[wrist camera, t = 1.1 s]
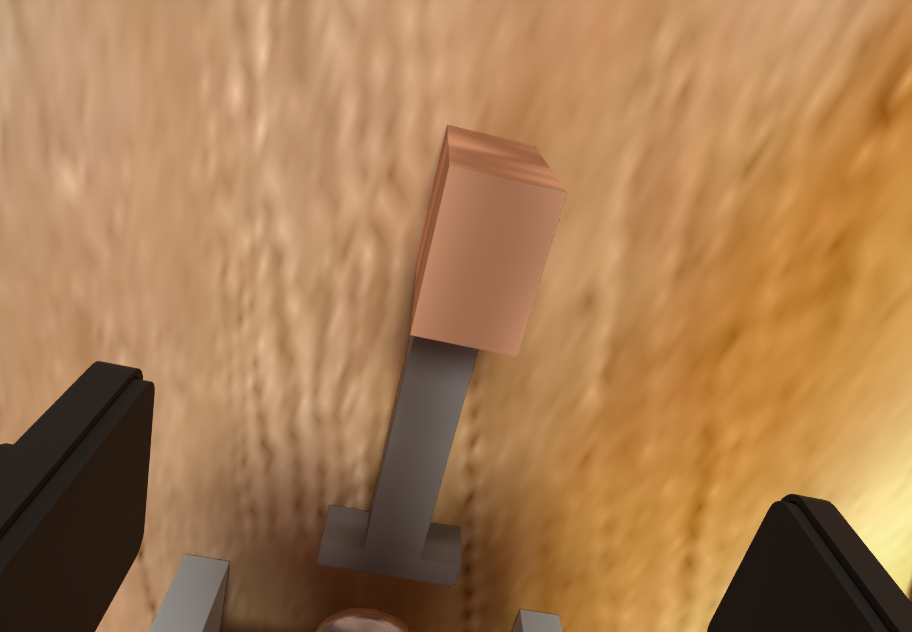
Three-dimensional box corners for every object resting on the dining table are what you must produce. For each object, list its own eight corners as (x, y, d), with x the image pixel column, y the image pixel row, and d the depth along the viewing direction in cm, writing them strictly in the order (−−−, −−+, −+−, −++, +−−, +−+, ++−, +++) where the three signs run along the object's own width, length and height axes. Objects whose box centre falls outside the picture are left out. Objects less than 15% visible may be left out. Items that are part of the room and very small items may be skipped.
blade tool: (572, 154, 25) (616, 204, 19) (454, 547, 32) (457, 681, 26) (408, 115, 24) (396, 153, 18) (325, 525, 32) (295, 657, 25)
